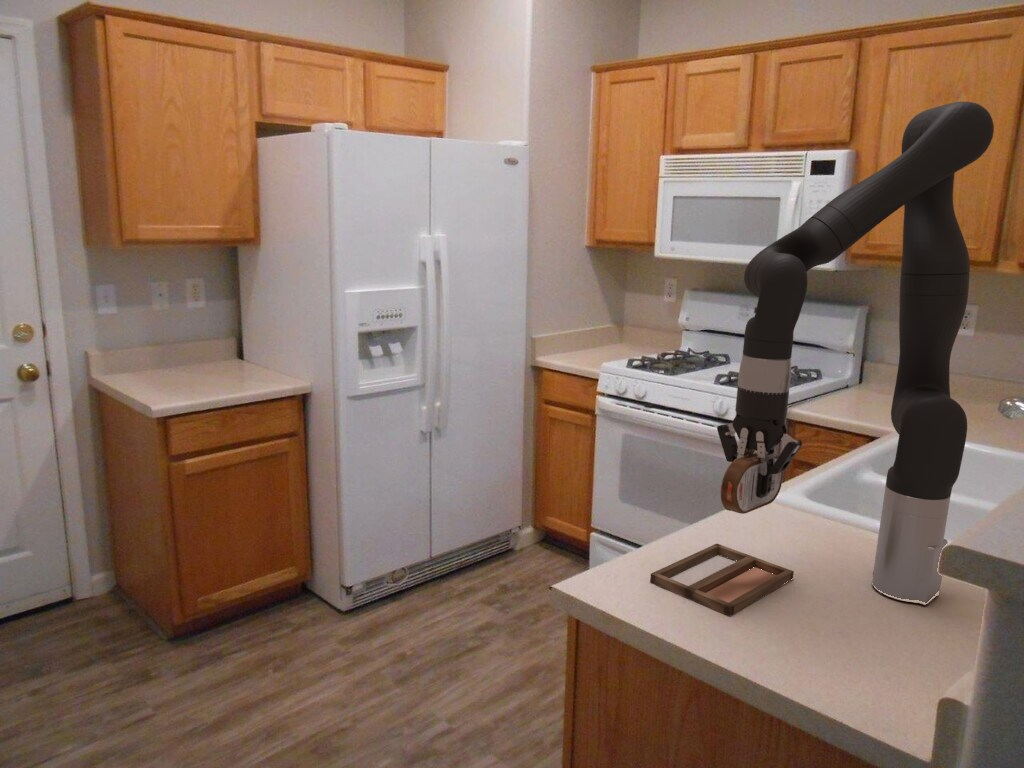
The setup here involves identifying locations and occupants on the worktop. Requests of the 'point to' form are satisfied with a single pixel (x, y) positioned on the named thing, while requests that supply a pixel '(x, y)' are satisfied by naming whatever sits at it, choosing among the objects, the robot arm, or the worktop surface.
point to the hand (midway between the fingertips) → (752, 493)
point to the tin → (746, 485)
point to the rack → (725, 580)
